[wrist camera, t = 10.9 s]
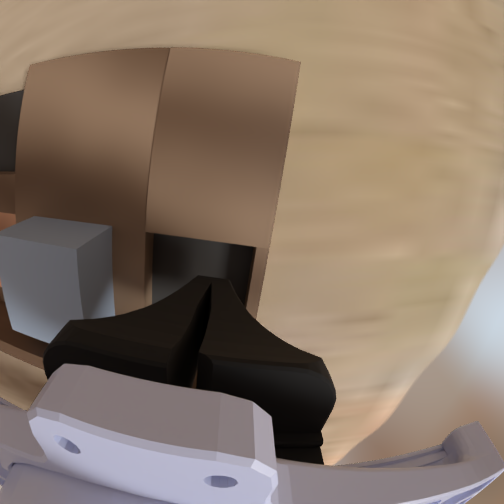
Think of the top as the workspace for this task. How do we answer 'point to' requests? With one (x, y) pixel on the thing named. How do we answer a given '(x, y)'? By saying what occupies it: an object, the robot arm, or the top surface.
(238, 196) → the board
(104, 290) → the block
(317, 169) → the top surface
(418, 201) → the top surface
